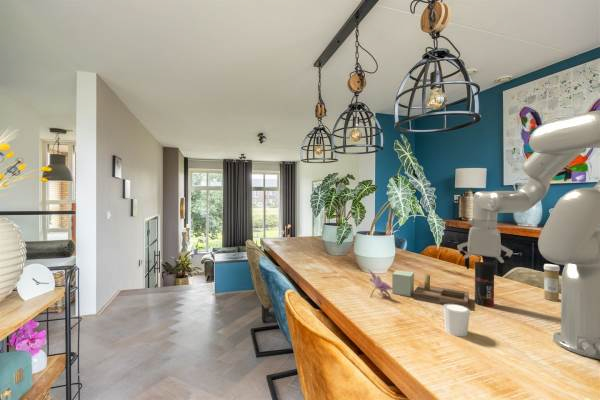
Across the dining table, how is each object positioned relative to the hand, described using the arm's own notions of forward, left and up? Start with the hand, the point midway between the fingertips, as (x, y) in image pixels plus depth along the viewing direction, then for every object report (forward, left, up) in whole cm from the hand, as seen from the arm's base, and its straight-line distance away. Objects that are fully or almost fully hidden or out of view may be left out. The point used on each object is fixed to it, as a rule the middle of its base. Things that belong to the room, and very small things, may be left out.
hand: (482, 270), depth 104 cm
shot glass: (-32, +6, -12) cm, 35 cm away
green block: (-5, +27, -12) cm, 30 cm away
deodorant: (-1, -1, -12) cm, 12 cm away
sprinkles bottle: (+20, -23, -12) cm, 33 cm away
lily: (-14, +34, -13) cm, 39 cm away
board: (-4, +13, -12) cm, 19 cm away
